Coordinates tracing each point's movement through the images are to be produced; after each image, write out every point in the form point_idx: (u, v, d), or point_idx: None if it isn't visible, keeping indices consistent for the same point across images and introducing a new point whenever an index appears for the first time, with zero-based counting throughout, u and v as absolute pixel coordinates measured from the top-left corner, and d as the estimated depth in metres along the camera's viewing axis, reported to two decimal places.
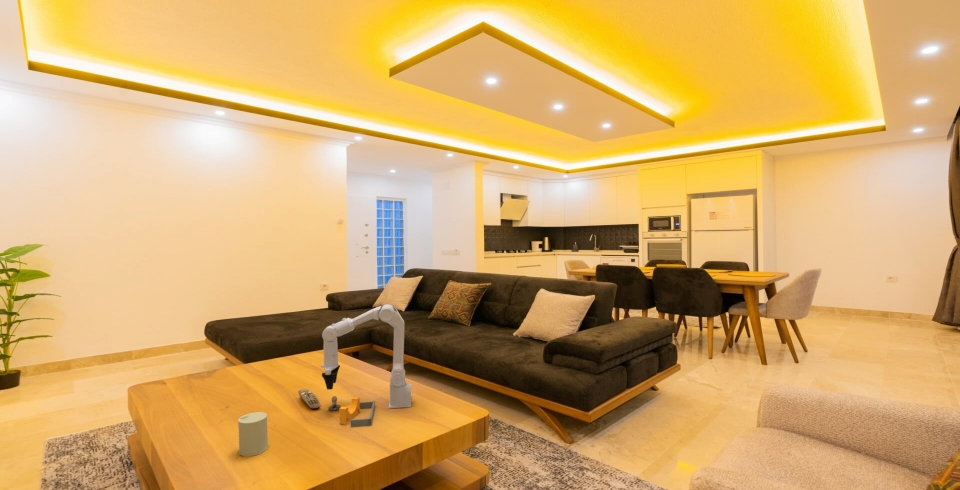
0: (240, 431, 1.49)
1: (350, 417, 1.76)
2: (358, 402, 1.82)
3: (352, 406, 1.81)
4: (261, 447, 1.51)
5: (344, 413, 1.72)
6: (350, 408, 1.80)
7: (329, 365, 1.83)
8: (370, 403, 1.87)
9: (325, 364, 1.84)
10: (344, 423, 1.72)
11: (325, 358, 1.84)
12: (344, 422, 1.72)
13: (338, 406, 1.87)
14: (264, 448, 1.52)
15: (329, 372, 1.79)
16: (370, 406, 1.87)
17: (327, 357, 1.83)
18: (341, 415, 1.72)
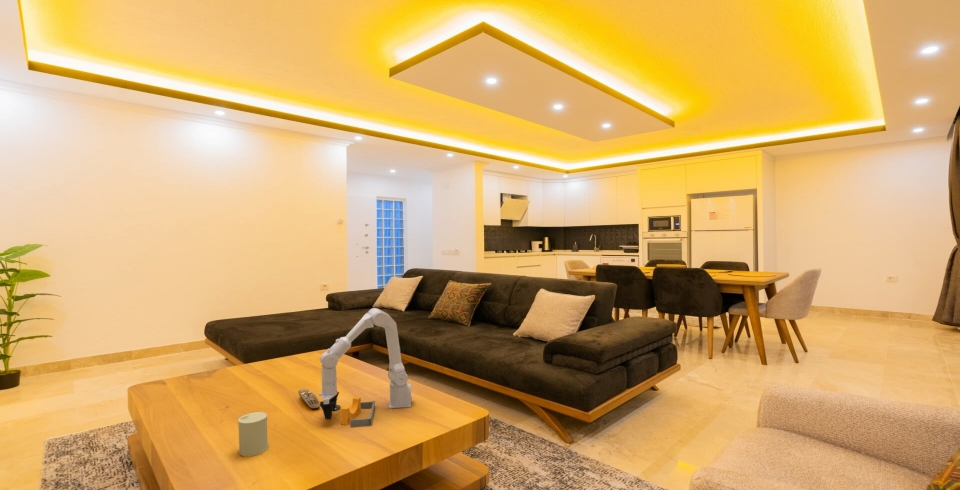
0: (240, 431, 1.49)
1: (351, 417, 1.76)
2: (359, 402, 1.82)
3: (353, 406, 1.81)
4: (261, 447, 1.51)
5: (345, 413, 1.72)
6: (351, 408, 1.80)
7: (327, 393, 1.74)
8: (370, 403, 1.87)
9: (323, 392, 1.74)
10: (345, 423, 1.72)
11: (323, 386, 1.74)
12: (345, 422, 1.72)
13: (338, 406, 1.87)
14: (264, 448, 1.52)
15: (327, 401, 1.70)
16: (370, 406, 1.87)
17: (325, 385, 1.74)
18: (342, 415, 1.72)
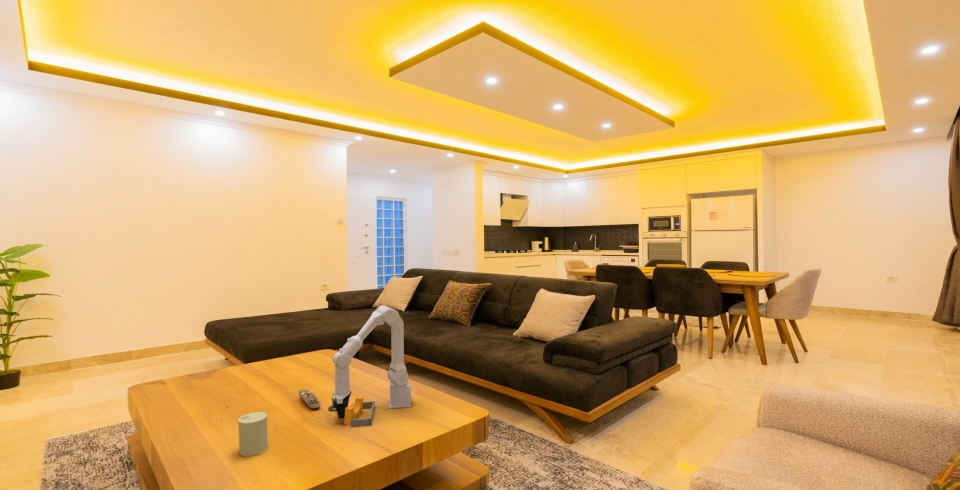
0: (240, 431, 1.49)
1: (354, 416, 1.76)
2: (362, 402, 1.82)
3: (356, 406, 1.81)
4: (261, 447, 1.51)
5: (350, 413, 1.71)
6: (353, 408, 1.80)
7: (341, 393, 1.75)
8: (370, 403, 1.87)
9: (336, 392, 1.75)
10: (349, 423, 1.72)
11: (336, 385, 1.75)
12: (349, 422, 1.72)
13: None
14: (264, 448, 1.52)
15: (341, 401, 1.71)
16: (370, 406, 1.87)
17: (338, 384, 1.75)
18: (346, 415, 1.72)
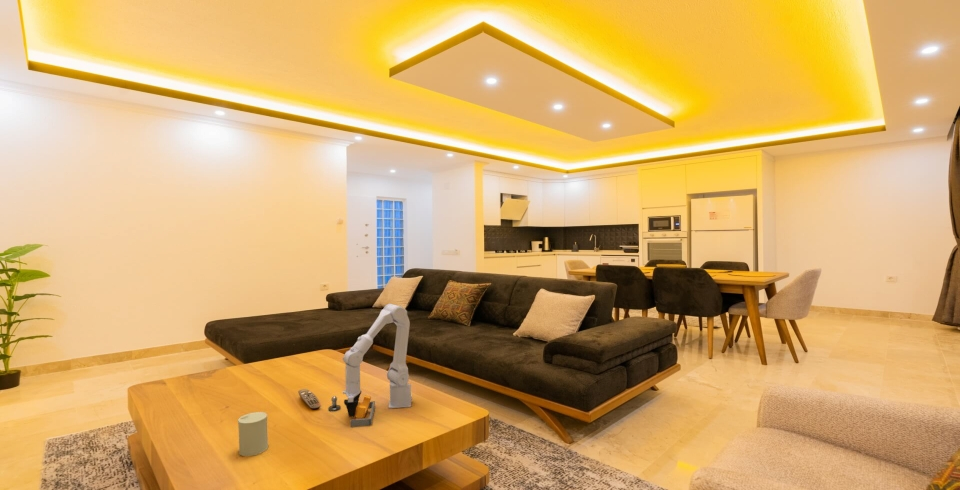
0: (240, 431, 1.49)
1: (364, 416, 1.76)
2: (369, 401, 1.83)
3: (364, 405, 1.81)
4: (261, 447, 1.51)
5: (363, 412, 1.72)
6: None
7: (351, 391, 1.75)
8: (370, 403, 1.87)
9: (347, 390, 1.76)
10: None
11: (347, 384, 1.76)
12: None
13: (338, 406, 1.87)
14: (264, 448, 1.52)
15: (352, 399, 1.71)
16: (370, 406, 1.87)
17: (349, 383, 1.75)
18: (359, 414, 1.72)
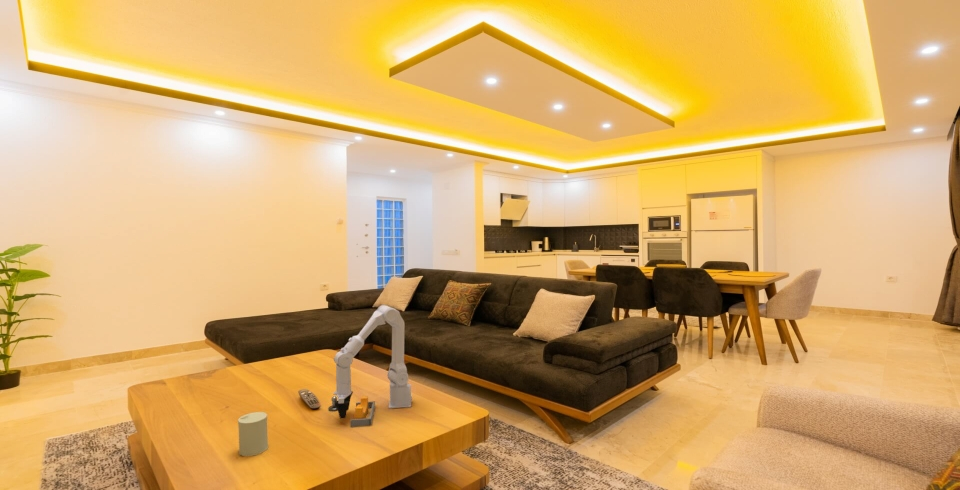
0: (240, 431, 1.49)
1: (364, 416, 1.76)
2: (367, 401, 1.83)
3: (362, 406, 1.81)
4: (261, 447, 1.51)
5: (360, 412, 1.72)
6: None
7: (342, 393, 1.75)
8: (370, 403, 1.87)
9: (338, 391, 1.75)
10: None
11: (338, 385, 1.75)
12: None
13: None
14: (264, 448, 1.52)
15: (342, 401, 1.71)
16: (370, 406, 1.87)
17: (340, 384, 1.75)
18: (357, 415, 1.72)
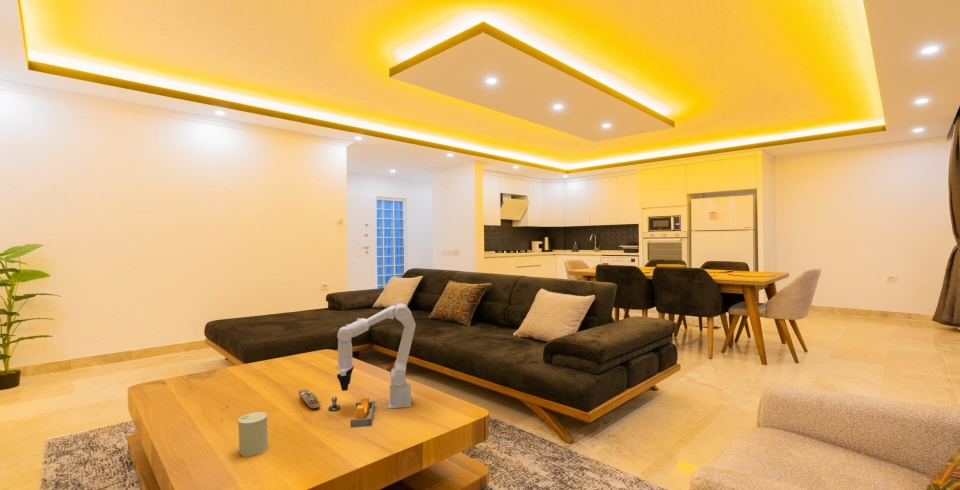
0: (240, 431, 1.49)
1: (365, 416, 1.76)
2: (368, 401, 1.83)
3: (363, 406, 1.81)
4: (261, 447, 1.51)
5: (361, 412, 1.72)
6: None
7: (344, 366, 1.82)
8: (370, 403, 1.87)
9: (340, 365, 1.83)
10: None
11: (340, 359, 1.83)
12: None
13: (338, 406, 1.87)
14: (264, 448, 1.52)
15: (344, 373, 1.78)
16: (370, 406, 1.87)
17: (342, 358, 1.82)
18: (358, 415, 1.72)
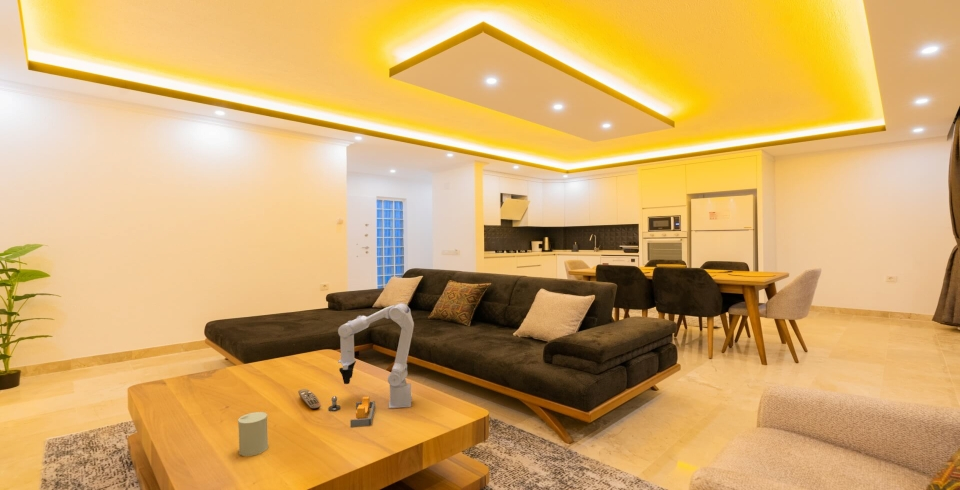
0: (240, 431, 1.49)
1: (366, 416, 1.76)
2: (369, 401, 1.83)
3: (364, 406, 1.81)
4: (261, 447, 1.51)
5: (362, 412, 1.72)
6: None
7: (346, 360, 1.90)
8: (370, 403, 1.87)
9: (342, 359, 1.91)
10: None
11: (342, 354, 1.90)
12: None
13: (338, 406, 1.87)
14: (264, 448, 1.52)
15: (346, 367, 1.86)
16: (370, 406, 1.87)
17: (344, 353, 1.90)
18: (359, 415, 1.72)
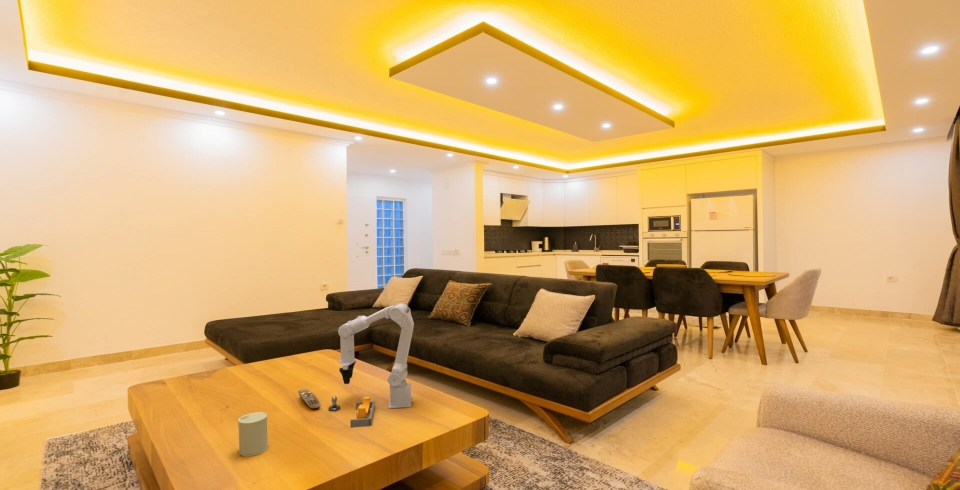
0: (240, 431, 1.49)
1: (366, 416, 1.76)
2: (369, 401, 1.83)
3: (364, 406, 1.81)
4: (261, 447, 1.51)
5: (363, 412, 1.72)
6: None
7: (346, 360, 1.90)
8: (370, 403, 1.87)
9: (342, 359, 1.91)
10: None
11: (342, 354, 1.90)
12: None
13: (338, 406, 1.87)
14: (264, 448, 1.52)
15: (346, 367, 1.86)
16: (370, 406, 1.87)
17: (344, 353, 1.90)
18: (360, 415, 1.72)
